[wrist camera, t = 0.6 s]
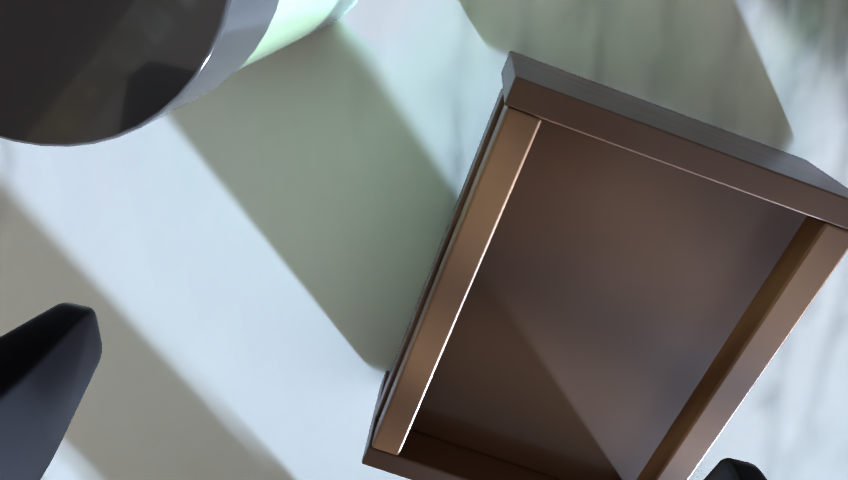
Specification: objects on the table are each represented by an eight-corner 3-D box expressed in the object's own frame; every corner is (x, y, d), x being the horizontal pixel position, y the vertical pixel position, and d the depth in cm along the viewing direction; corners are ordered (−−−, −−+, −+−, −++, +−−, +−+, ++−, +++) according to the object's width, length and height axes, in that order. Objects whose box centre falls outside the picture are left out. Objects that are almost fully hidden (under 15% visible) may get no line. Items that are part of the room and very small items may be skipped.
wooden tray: (617, 464, 27) (640, 555, 23) (380, 385, 27) (361, 464, 23) (806, 160, 22) (881, 210, 18) (510, 50, 21) (515, 75, 17)
